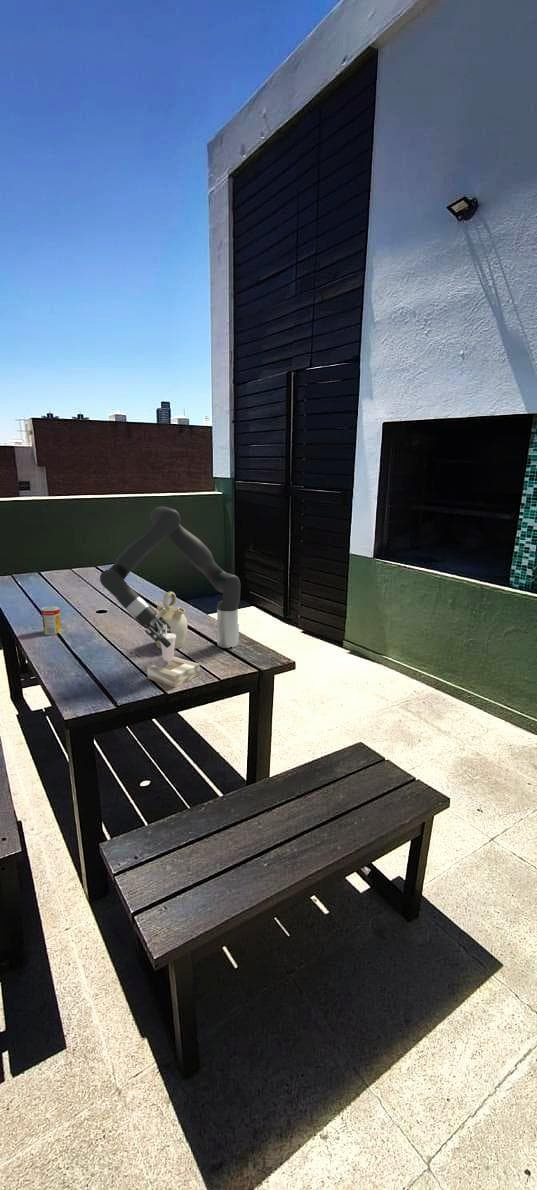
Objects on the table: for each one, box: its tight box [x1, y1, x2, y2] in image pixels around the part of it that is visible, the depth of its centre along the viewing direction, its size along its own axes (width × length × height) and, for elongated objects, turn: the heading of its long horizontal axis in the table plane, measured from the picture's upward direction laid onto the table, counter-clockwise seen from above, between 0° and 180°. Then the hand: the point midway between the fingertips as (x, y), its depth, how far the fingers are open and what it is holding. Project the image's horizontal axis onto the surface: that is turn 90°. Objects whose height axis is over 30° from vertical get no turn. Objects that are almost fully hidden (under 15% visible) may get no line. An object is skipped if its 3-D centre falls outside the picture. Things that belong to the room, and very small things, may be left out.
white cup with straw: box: [160, 625, 176, 662], centre depth 186 cm, size 6×6×14 cm
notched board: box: [146, 655, 201, 688], centre depth 187 cm, size 14×14×4 cm
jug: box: [155, 591, 188, 650], centre depth 218 cm, size 15×16×25 cm
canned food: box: [41, 605, 63, 636], centre depth 232 cm, size 8×8×12 cm
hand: (172, 642), depth 186 cm, fingers closed on white cup with straw, 6 cm apart
